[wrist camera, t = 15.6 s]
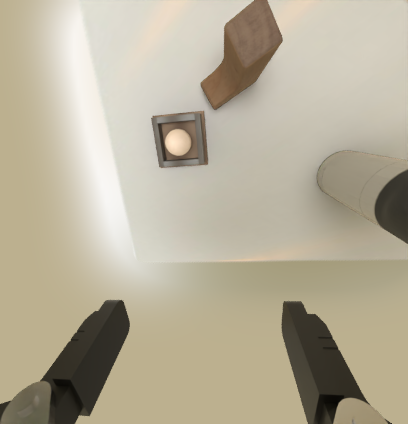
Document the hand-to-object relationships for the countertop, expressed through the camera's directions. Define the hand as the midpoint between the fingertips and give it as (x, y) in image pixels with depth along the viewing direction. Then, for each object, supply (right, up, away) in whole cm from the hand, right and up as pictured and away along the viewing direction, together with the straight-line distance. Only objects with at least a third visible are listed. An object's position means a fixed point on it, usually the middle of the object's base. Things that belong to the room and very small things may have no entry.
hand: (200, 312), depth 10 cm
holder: (-4, +20, +32) cm, 37 cm away
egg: (-4, +19, +31) cm, 37 cm away
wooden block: (+5, +29, +27) cm, 40 cm away
